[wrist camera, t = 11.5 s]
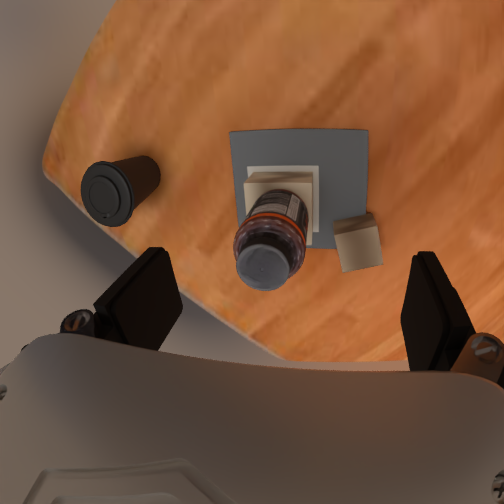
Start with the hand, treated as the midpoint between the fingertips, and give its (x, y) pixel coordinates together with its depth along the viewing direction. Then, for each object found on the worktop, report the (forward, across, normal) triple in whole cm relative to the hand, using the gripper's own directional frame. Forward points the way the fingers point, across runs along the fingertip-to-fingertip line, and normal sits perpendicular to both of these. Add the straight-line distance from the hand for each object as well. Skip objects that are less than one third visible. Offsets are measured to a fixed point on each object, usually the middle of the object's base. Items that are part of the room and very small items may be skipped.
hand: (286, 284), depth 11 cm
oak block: (+26, -5, +10) cm, 28 cm away
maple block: (+26, +4, +6) cm, 26 cm away
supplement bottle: (+21, +4, +5) cm, 22 cm away
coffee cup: (+26, +23, +1) cm, 35 cm away
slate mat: (+26, +2, +4) cm, 27 cm away
